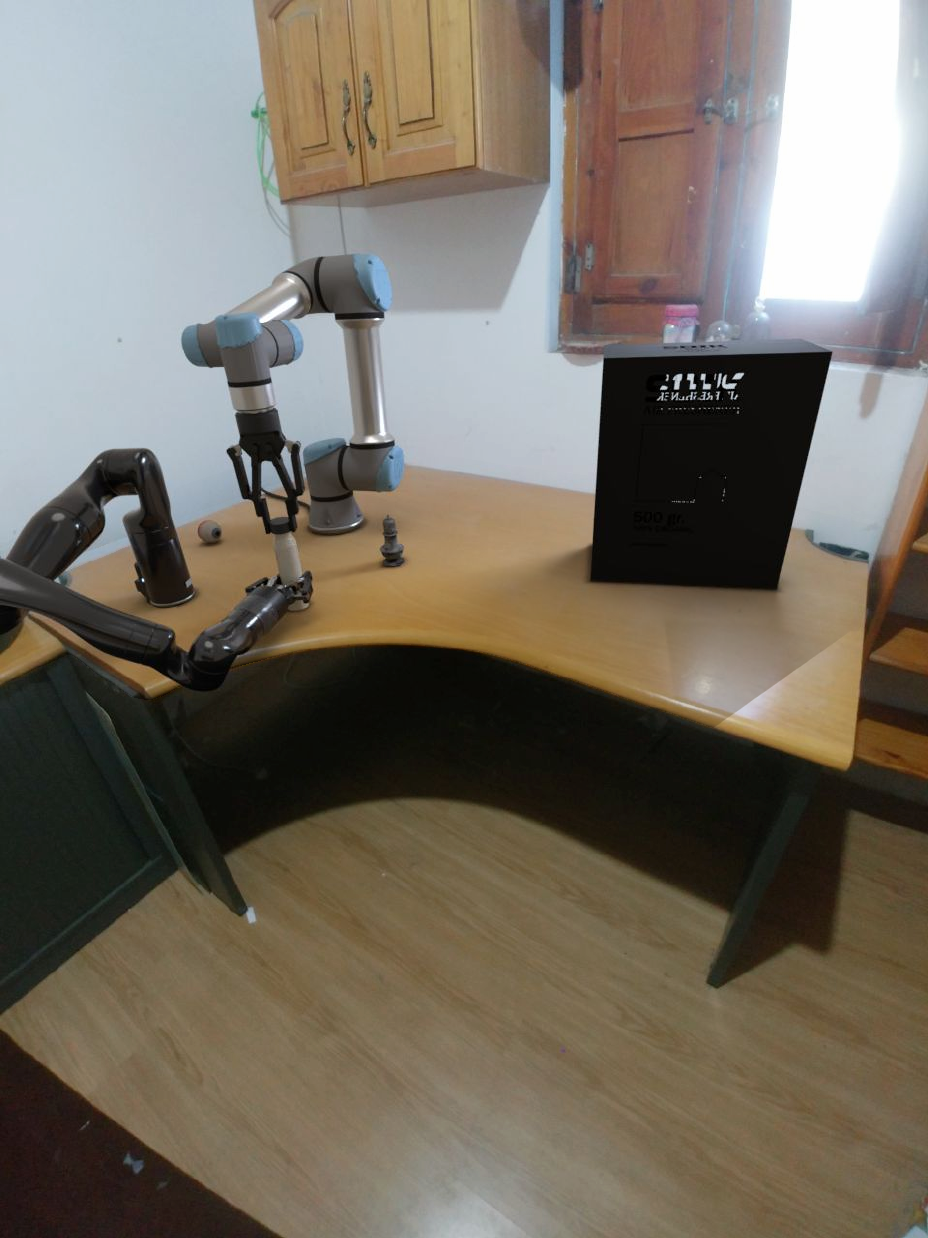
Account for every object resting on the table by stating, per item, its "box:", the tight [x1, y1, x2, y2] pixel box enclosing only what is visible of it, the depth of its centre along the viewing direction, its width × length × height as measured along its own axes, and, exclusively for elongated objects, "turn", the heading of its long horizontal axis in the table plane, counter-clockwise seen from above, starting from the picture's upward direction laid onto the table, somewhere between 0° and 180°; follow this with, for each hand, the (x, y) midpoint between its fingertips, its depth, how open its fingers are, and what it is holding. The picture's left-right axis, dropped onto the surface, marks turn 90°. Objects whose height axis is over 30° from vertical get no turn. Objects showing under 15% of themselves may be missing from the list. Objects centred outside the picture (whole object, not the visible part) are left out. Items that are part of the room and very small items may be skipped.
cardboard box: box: [589, 338, 834, 590], centre depth 125 cm, size 38×20×45 cm, turn 78°
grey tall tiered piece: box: [379, 514, 405, 567], centre depth 143 cm, size 6×6×12 cm
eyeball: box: [197, 519, 223, 544], centre depth 161 cm, size 6×6×6 cm
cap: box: [268, 516, 291, 535], centre depth 120 cm, size 4×4×2 cm
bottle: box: [272, 532, 310, 612], centre depth 124 cm, size 5×5×18 cm
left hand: (298, 574), depth 128 cm, fingers closed on bottle, 4 cm apart
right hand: (281, 530), depth 120 cm, fingers closed on cap, 4 cm apart
